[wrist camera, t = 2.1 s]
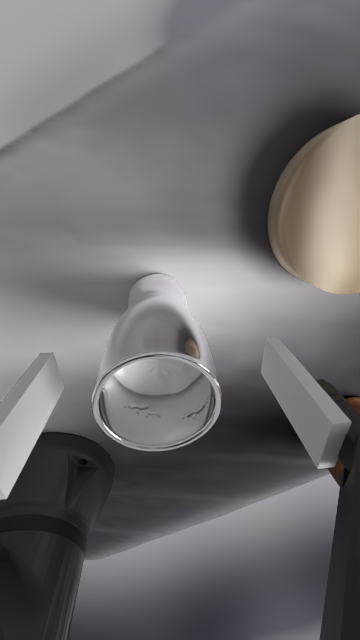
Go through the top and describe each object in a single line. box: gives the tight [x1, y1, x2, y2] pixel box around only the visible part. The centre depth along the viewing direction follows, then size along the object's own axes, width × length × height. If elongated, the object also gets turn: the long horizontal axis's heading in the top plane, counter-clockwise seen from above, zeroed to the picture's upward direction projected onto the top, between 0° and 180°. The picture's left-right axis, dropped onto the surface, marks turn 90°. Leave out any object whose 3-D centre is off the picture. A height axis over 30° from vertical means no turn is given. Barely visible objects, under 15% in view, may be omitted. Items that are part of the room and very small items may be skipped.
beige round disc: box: [267, 114, 360, 294], centre depth 22 cm, size 14×14×4 cm
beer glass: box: [92, 274, 222, 451], centre depth 19 cm, size 7×7×15 cm
